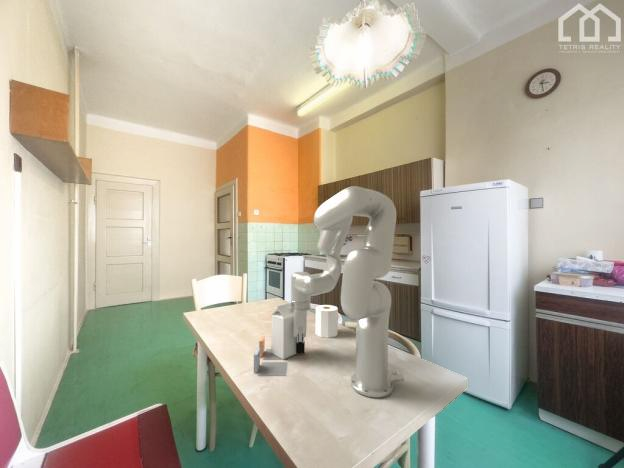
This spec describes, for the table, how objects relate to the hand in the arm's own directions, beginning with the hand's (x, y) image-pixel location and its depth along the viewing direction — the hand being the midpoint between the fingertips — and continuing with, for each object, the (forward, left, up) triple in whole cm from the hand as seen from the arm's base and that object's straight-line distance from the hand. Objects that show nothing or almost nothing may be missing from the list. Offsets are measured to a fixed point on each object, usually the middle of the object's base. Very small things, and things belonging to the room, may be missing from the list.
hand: (300, 352), depth 101 cm
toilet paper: (-12, -21, -1) cm, 24 cm away
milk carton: (+6, 0, -1) cm, 6 cm away
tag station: (+9, +5, -1) cm, 11 cm away
